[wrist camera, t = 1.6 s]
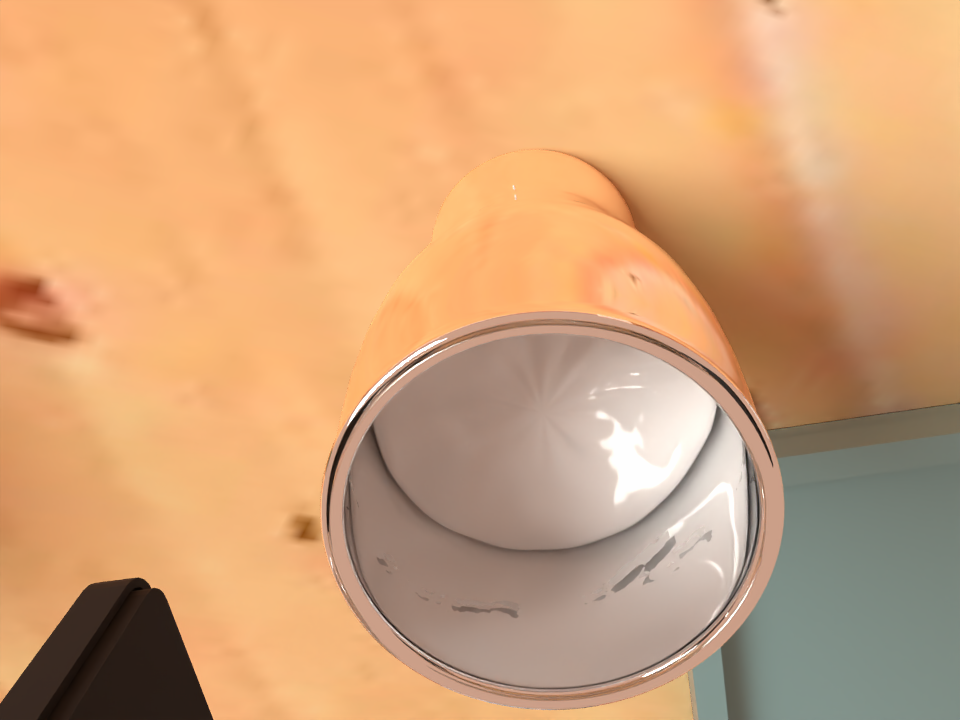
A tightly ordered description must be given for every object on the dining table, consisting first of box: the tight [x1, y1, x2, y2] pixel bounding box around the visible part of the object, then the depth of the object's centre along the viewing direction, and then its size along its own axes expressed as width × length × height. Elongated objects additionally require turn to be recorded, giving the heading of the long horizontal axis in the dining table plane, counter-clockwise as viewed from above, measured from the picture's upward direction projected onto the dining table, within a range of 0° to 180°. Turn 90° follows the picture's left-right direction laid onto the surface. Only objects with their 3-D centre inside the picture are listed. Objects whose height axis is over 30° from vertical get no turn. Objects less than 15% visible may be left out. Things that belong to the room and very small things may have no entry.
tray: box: [688, 403, 960, 720], centre depth 30 cm, size 18×18×2 cm
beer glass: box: [320, 149, 785, 710], centre depth 19 cm, size 7×7×15 cm
